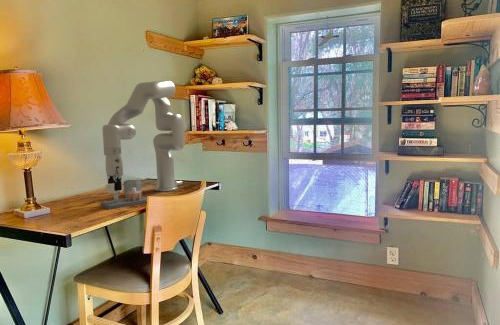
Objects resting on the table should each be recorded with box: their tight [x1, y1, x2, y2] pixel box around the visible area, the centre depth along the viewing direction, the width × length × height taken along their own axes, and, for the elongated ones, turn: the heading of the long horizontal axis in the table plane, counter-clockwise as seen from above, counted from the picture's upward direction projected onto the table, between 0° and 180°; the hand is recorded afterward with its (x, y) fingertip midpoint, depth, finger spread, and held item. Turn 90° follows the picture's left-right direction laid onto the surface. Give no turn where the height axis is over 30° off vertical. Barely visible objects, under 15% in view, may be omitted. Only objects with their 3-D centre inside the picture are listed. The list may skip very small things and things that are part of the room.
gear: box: [105, 182, 124, 194], centre depth 176 cm, size 7×7×4 cm
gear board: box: [99, 188, 148, 210], centre depth 180 cm, size 20×11×7 cm, turn 130°
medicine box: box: [123, 179, 143, 198], centre depth 195 cm, size 8×4×9 cm, turn 71°
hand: (114, 188), depth 176 cm, fingers closed on gear, 7 cm apart
